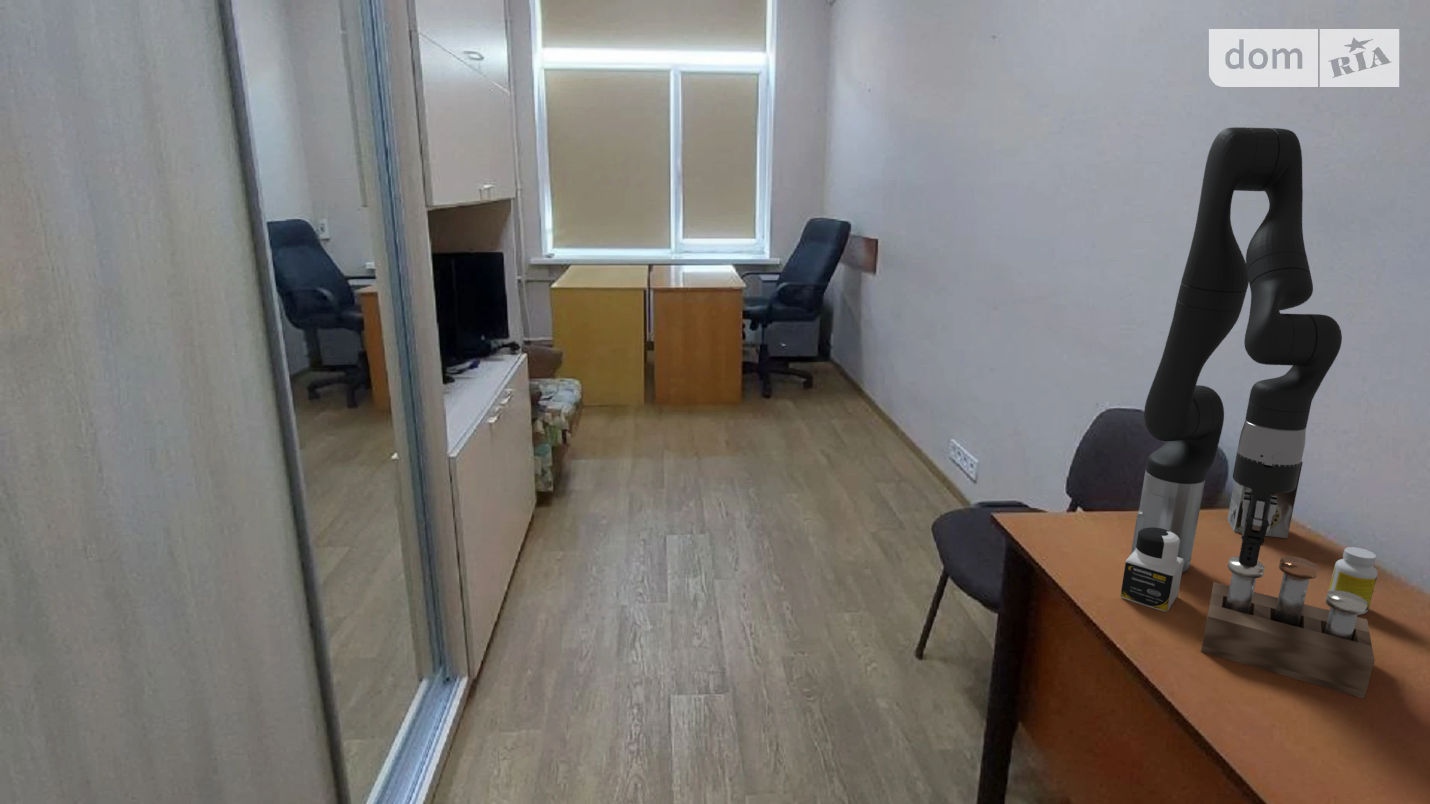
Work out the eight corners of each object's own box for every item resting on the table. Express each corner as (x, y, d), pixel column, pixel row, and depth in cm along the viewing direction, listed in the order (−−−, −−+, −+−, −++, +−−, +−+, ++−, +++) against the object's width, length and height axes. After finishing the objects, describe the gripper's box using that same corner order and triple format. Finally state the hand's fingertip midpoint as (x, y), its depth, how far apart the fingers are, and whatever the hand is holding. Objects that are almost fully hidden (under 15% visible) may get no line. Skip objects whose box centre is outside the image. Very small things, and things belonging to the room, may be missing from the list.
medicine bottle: (1119, 598, 130) (1129, 533, 126) (1132, 582, 135) (1142, 519, 132) (1166, 613, 125) (1178, 546, 122) (1178, 596, 130) (1189, 531, 127)
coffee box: (1278, 526, 156) (1294, 450, 151) (1288, 539, 150) (1305, 461, 145) (1225, 519, 159) (1240, 445, 154) (1233, 532, 153) (1248, 456, 148)
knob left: (1216, 626, 117) (1228, 565, 114) (1218, 612, 120) (1229, 553, 117) (1251, 635, 114) (1264, 573, 111) (1252, 621, 118) (1265, 561, 115)
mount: (1201, 651, 115) (1207, 616, 113) (1207, 615, 125) (1213, 582, 123) (1364, 698, 105) (1374, 660, 103) (1357, 655, 114) (1367, 619, 112)
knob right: (1312, 663, 110) (1328, 600, 108) (1311, 648, 114) (1326, 587, 111) (1351, 674, 108) (1368, 610, 105) (1349, 658, 111) (1365, 596, 109)
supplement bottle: (1375, 616, 124) (1390, 561, 121) (1337, 613, 125) (1350, 558, 122) (1355, 599, 129) (1369, 546, 126) (1319, 596, 130) (1331, 543, 127)
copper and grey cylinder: (1266, 628, 113) (1280, 565, 110) (1267, 614, 116) (1280, 553, 113) (1304, 638, 110) (1319, 574, 107) (1303, 624, 114) (1317, 561, 111)
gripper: (1239, 436, 117) (1220, 540, 121) (1235, 462, 106) (1214, 574, 111) (1300, 445, 112) (1278, 553, 117) (1303, 473, 102) (1278, 589, 107)
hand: (1247, 563), depth 114 cm, fingers closed
